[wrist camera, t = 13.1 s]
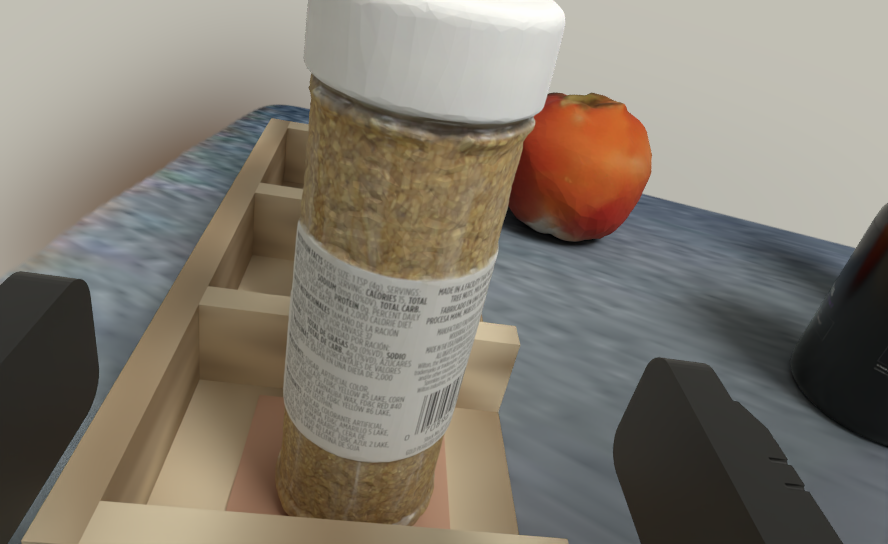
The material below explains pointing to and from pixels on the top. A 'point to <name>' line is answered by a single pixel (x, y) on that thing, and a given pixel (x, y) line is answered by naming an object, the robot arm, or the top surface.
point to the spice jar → (399, 236)
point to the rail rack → (255, 403)
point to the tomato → (581, 167)
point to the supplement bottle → (851, 341)
